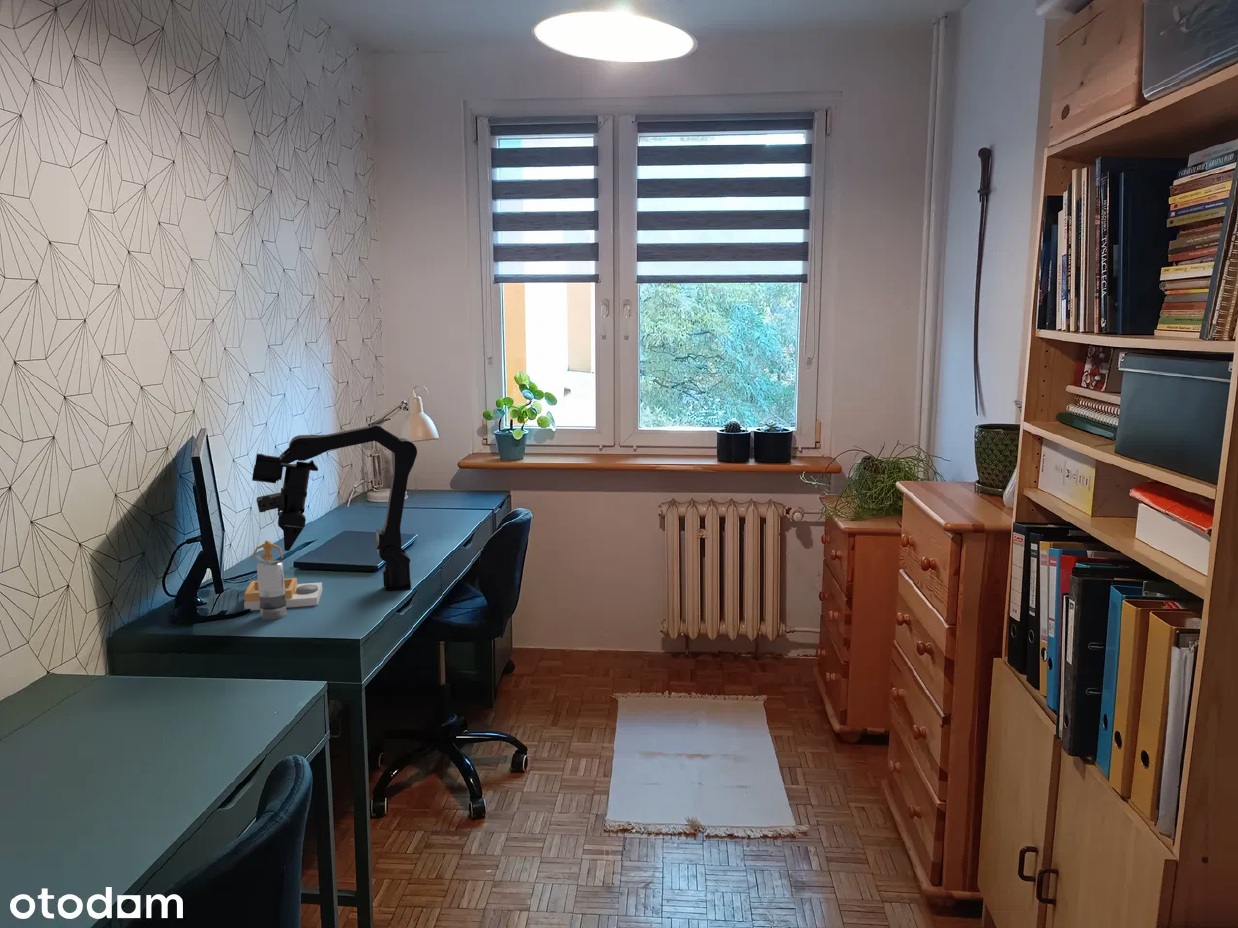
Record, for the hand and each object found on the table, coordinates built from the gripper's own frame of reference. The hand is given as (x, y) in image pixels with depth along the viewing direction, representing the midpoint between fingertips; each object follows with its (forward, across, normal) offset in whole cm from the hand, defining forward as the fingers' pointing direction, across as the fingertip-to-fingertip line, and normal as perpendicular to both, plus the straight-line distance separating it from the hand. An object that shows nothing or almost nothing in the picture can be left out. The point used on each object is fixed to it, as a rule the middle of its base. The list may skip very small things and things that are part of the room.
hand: (286, 546), depth 224 cm
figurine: (+15, -16, -2) cm, 22 cm away
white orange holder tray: (+14, 0, +2) cm, 14 cm away
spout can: (+14, +12, -1) cm, 19 cm away
